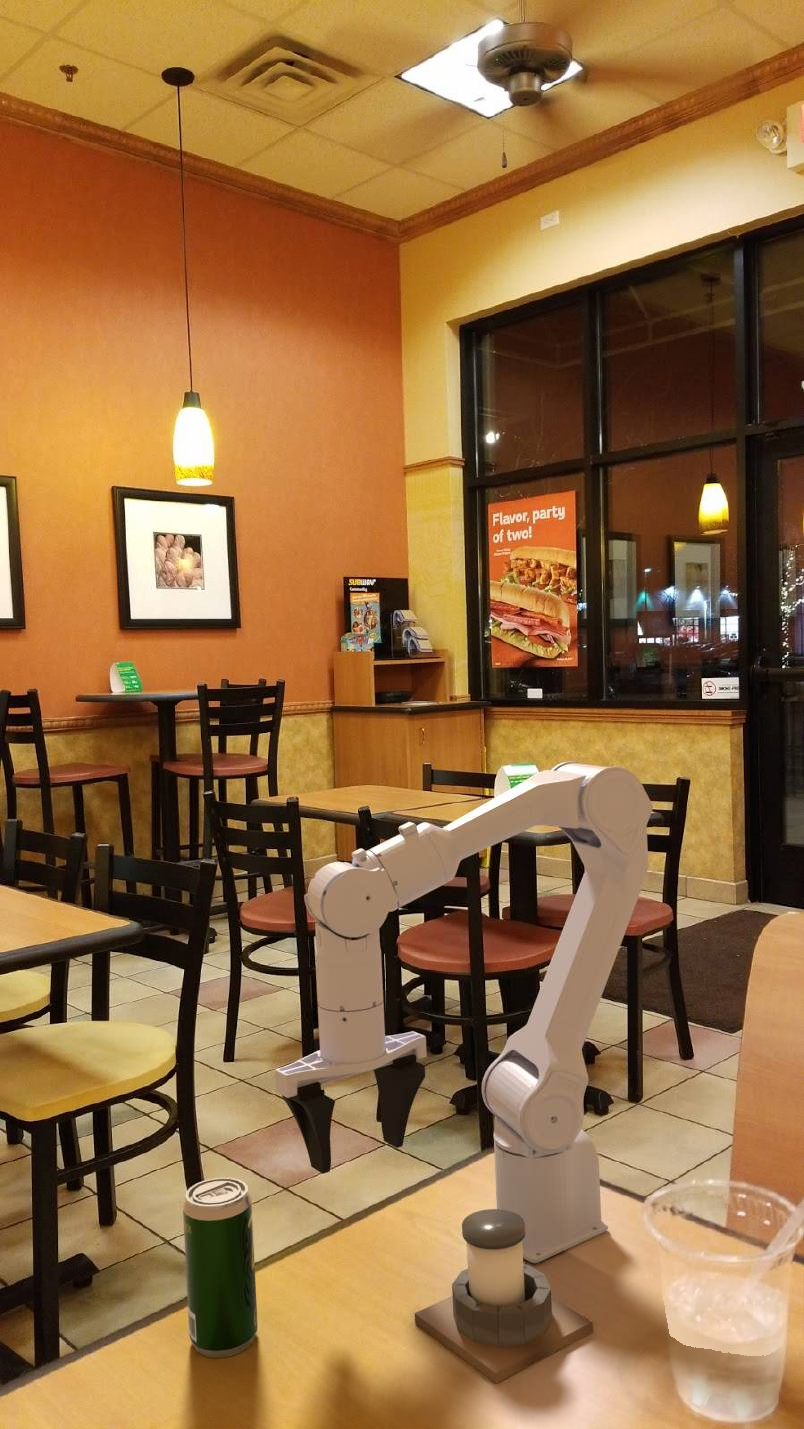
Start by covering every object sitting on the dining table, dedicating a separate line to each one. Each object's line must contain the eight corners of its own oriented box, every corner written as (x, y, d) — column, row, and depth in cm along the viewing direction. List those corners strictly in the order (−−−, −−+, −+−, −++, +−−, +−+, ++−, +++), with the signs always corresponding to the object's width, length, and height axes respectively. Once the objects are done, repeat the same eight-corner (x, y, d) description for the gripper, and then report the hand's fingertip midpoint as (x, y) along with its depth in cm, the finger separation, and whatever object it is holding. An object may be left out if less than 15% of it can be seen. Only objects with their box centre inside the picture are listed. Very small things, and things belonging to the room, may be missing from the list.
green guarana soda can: (206, 1369, 85) (198, 1214, 84) (179, 1335, 89) (171, 1189, 89) (269, 1343, 88) (262, 1193, 87) (240, 1312, 92) (233, 1170, 92)
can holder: (508, 1278, 95) (506, 1241, 95) (592, 1331, 87) (591, 1290, 87) (415, 1322, 90) (413, 1282, 89) (496, 1383, 81) (494, 1339, 81)
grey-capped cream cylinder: (494, 1291, 92) (489, 1203, 92) (542, 1313, 89) (537, 1221, 88) (454, 1319, 88) (448, 1226, 88) (502, 1343, 85) (497, 1247, 85)
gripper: (391, 977, 104) (398, 1119, 105) (254, 1009, 96) (262, 1165, 96) (437, 992, 98) (444, 1143, 99) (296, 1028, 90) (304, 1193, 90)
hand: (357, 1156), depth 97 cm, fingers open, 7 cm apart
